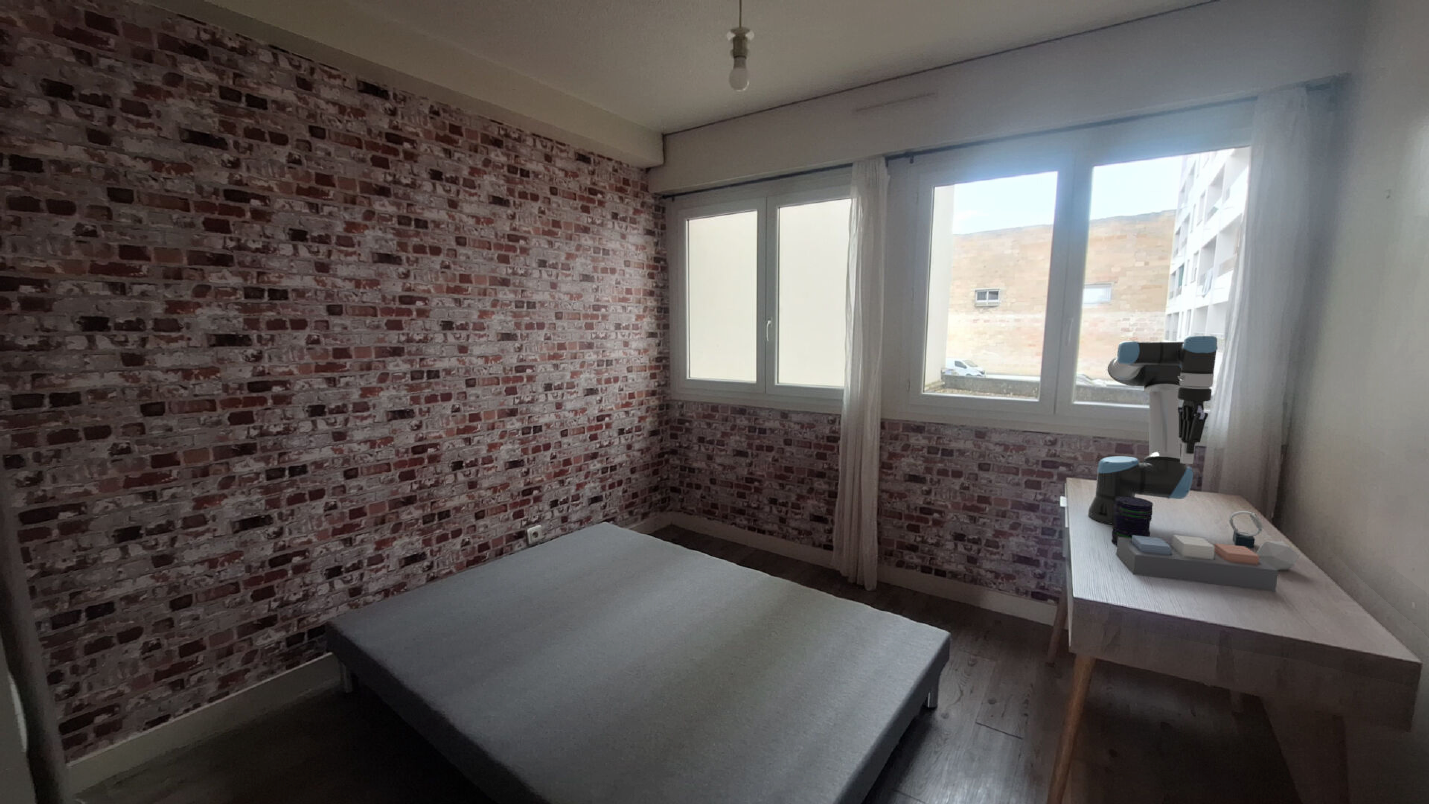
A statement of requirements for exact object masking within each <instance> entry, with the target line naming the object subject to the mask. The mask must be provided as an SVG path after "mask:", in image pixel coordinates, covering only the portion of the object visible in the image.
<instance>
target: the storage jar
mask: <svg viewBox="0 0 1429 804" xmlns="http://www.w3.org/2000/svg"><path fill="white" fill-rule="evenodd" d="M1115 501H1116V502H1115V506H1114V509H1115V510H1114V515H1115V519H1114V525H1113V524H1112V530H1111V543H1112V544H1113V545H1115V546H1117V541H1118V537H1125V538H1132V535H1135V536H1145V537H1151V531H1150V525H1151V521H1152V519H1153V518H1152V517H1153V506H1154V503H1153V502H1152V501H1150V500H1148V499H1145V498H1142V497H1141V498H1140V497H1136V496H1135V497H1129V496H1119V497H1116V500H1115Z"/></svg>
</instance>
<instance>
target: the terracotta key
mask: <svg viewBox="0 0 1429 804" xmlns="http://www.w3.org/2000/svg"><path fill="white" fill-rule="evenodd" d="M1213 546H1214V547H1215V550H1214V552H1215V553H1216V554H1217V555H1219V556H1220V557H1221V558H1223V559H1224V560H1225V561H1233V562H1242V563H1251V564H1259V557H1260V556H1259V555H1257V554H1256V553H1257V552H1254V551H1252V550H1251V549H1250V548H1249V547H1245V546H1237V545H1235V544H1224V543H1213Z"/></svg>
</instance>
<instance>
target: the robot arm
mask: <svg viewBox="0 0 1429 804" xmlns="http://www.w3.org/2000/svg"><path fill="white" fill-rule="evenodd" d="M1217 350H1218V338H1217V337H1216V336H1214V335H1187V336H1185V337H1184V340H1183V341H1145V340H1144V341H1143V340H1142V341H1135V340H1130V341H1121V342H1119V344H1118V346H1117V355H1116V357H1113V359H1111V361H1109V363H1108V366H1107V374H1108V375H1109V376H1110V378H1111V379H1113V380H1114V381H1116V382H1117V383H1119V384H1122V385H1126V386H1128V387H1129V386H1130V387H1140V388H1141V387H1142V388H1144V389H1143V391H1144V393H1145V394H1146V395H1148V396H1149V397H1148V398H1149V399H1148V401H1149V402H1148V406H1149V407H1148V408H1149V411H1148V413H1149V421H1148V422H1149V423H1148V424H1149V426H1148V428H1149V431H1148V432H1149V436H1148V437H1149V438H1148V439H1149V440H1148V441H1149V442H1148V443H1149V444H1148V447H1149V451H1148V453H1149V454H1148V455H1147V456H1145V458H1144V459H1143V462H1140V461H1139V459H1138V458H1137V457H1133V456H1126V455H1125V456H1123V455H1122V456H1106V457H1104V458H1102V459H1100V460H1099V462H1098V466H1097V470H1096V471H1097V478H1096V488H1095V497H1094V498H1093V500H1092V502H1091V504H1090V506H1089V507H1088V511H1087V516H1088V517H1089V518H1091V519H1093V520H1095V521H1097V522H1101V523H1103V524H1108V525H1109V524H1110V525H1112V526H1113V525H1114V519H1115V515H1114V510H1115V509H1114V506H1115V502H1116V501H1115V500H1116V497H1119V496H1129V497H1136V495H1139V496H1148V497H1156V498H1162V499H1163V498H1164V499H1168V500H1169V499H1174V500H1183V499H1184V498H1186V497H1188V494H1189V493H1190V490H1191V487H1192V484H1193V483H1192V482H1193V478H1194V473H1193V468H1192V467H1190V466H1187V464H1188V465H1193V464H1194V460H1195V451H1196V444H1198V443H1201V440H1202V436H1203V432H1204V429H1205V428H1204V427H1205V425H1206V421H1207V419H1208V416H1209V413H1208V412H1204V411H1205V407H1204V402H1209V401H1211V398H1212V389H1211V387H1213V385H1214V384H1213V383H1214V377H1215V376H1214V375H1215V364H1216V357H1217ZM1180 400H1181V401H1183V402H1182V406H1180ZM1181 441H1182V442H1181Z"/></svg>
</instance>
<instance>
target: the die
mask: <svg viewBox="0 0 1429 804" xmlns="http://www.w3.org/2000/svg"><path fill="white" fill-rule="evenodd" d="M1255 553H1256V554H1257V555H1259V556H1260V557H1259V558H1261V559H1262V560H1264V561H1265V562H1267V563H1268V564H1270V565H1271V566H1273V567H1274V568H1276V569H1277V570H1278V571H1286V570H1290V569H1292V568H1293V567H1294V566H1295V565H1296V563H1297V562H1298V559H1299V557H1300V556H1301V555H1300V554H1299V553H1297V552H1296V551H1295V550H1294V549H1293V548H1292V547H1290V546H1289V545H1288V544H1287V543H1285V542H1284V541H1282V540H1271V541H1270V540H1268V541H1264V542H1263V543H1262V544H1261V545H1260V546H1259V548H1258V550H1257V552H1255Z"/></svg>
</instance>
